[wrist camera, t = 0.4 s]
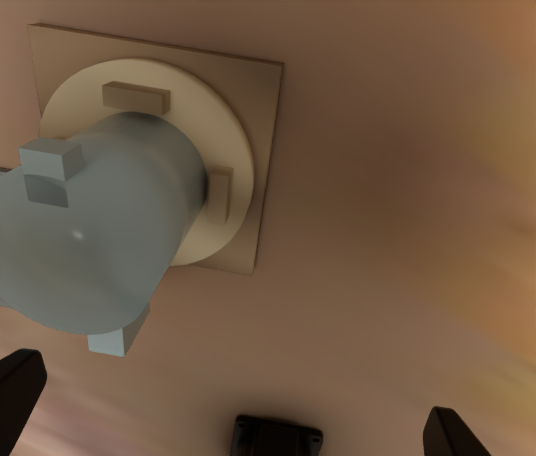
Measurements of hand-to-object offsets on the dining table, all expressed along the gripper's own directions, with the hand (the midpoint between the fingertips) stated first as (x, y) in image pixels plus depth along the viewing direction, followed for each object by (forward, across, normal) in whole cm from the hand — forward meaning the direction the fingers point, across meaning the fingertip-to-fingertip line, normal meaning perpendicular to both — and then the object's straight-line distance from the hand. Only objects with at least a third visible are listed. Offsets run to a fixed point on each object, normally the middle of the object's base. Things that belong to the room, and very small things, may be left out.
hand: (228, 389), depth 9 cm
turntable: (+11, +6, 0) cm, 13 cm away
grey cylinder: (+11, +6, +1) cm, 12 cm away
